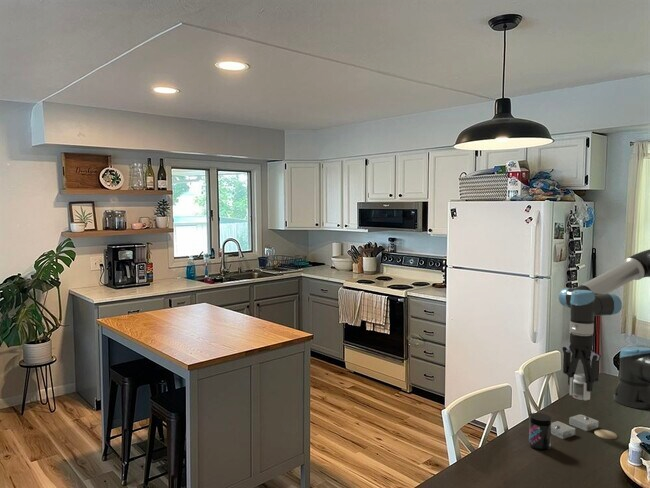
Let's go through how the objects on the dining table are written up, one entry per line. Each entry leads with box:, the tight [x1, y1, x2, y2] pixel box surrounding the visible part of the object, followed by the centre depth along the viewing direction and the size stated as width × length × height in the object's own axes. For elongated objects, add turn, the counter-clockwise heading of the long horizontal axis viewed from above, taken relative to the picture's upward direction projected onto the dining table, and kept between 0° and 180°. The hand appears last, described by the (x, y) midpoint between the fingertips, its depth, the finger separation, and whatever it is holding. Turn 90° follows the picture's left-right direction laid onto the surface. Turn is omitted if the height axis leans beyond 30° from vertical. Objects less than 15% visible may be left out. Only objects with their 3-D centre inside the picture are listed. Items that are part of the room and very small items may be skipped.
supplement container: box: [528, 412, 552, 452], centre depth 166 cm, size 7×7×10 cm
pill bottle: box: [572, 372, 586, 401], centre depth 178 cm, size 5×5×8 cm
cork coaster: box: [594, 429, 618, 440], centre depth 175 cm, size 7×7×1 cm
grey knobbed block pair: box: [551, 414, 599, 440], centre depth 180 cm, size 20×7×3 cm, turn 118°
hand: (579, 396), depth 178 cm, fingers closed on pill bottle, 5 cm apart
